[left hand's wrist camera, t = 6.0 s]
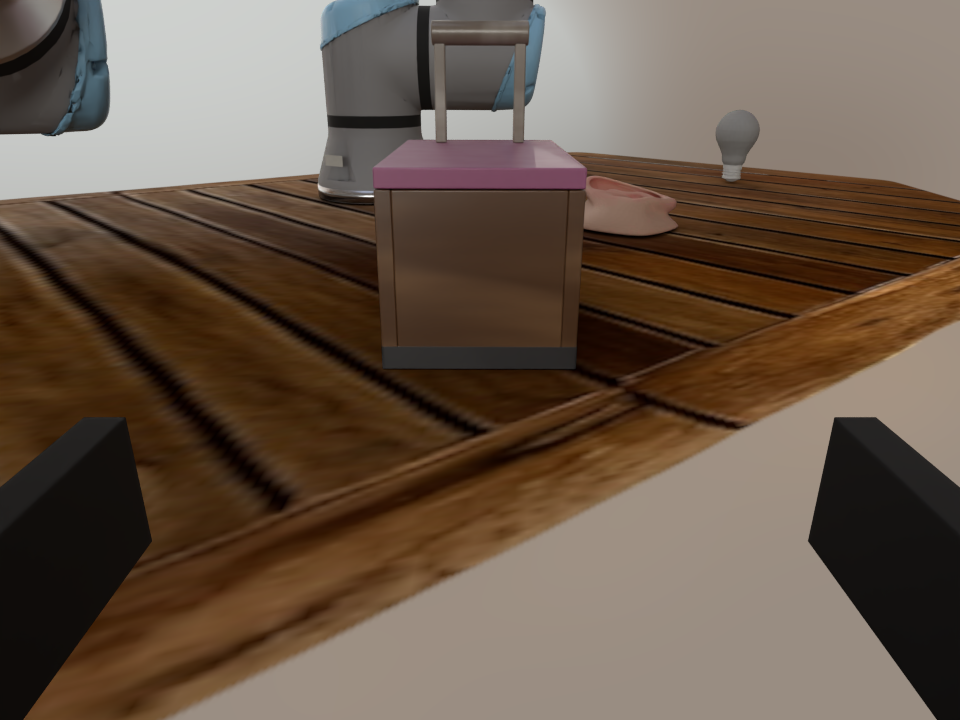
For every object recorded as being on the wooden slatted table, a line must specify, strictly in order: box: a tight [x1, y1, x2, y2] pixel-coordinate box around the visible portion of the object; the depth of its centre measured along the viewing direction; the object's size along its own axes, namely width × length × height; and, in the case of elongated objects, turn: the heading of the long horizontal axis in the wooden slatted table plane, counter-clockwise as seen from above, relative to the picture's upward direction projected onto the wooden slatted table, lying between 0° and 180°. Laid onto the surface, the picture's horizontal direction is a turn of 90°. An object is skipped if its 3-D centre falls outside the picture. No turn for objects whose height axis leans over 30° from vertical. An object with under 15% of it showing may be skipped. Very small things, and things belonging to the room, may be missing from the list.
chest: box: [373, 189, 586, 369], centre depth 41 cm, size 16×10×9 cm, turn 0°
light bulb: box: [716, 110, 760, 181], centre depth 101 cm, size 6×6×10 cm
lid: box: [372, 20, 587, 189], centre depth 39 cm, size 17×10×8 cm, turn 0°
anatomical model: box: [584, 176, 678, 236], centre depth 71 cm, size 13×4×12 cm
